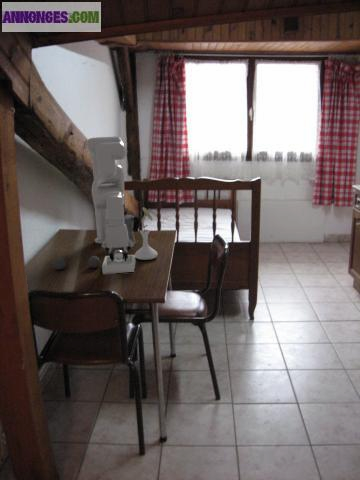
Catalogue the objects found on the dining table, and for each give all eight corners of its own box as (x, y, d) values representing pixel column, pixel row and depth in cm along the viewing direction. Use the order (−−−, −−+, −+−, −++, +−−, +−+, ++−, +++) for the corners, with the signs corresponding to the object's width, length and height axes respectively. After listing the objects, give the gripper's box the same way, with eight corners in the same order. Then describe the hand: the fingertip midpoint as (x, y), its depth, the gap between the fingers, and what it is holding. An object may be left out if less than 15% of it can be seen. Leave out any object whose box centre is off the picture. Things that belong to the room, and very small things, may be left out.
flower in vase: (157, 261, 228) (154, 210, 221) (133, 262, 228) (130, 211, 221) (158, 252, 240) (156, 204, 233) (136, 253, 240) (132, 205, 233)
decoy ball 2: (89, 265, 226) (88, 254, 224) (101, 265, 226) (100, 254, 224) (87, 269, 220) (86, 258, 219) (99, 269, 220) (98, 257, 219)
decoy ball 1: (55, 267, 225) (54, 256, 224) (67, 266, 225) (66, 255, 224) (53, 271, 220) (51, 260, 218) (65, 270, 220) (63, 259, 218)
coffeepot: (112, 245, 256) (109, 212, 251) (122, 240, 264) (119, 208, 259) (136, 248, 249) (134, 214, 244) (145, 243, 257) (143, 210, 252)
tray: (106, 264, 227) (105, 256, 226) (135, 262, 227) (134, 254, 226) (102, 274, 214) (102, 266, 212) (134, 272, 214) (133, 264, 213)
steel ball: (112, 263, 217) (111, 252, 215) (113, 259, 222) (112, 248, 220) (124, 263, 217) (123, 251, 215) (125, 259, 222) (124, 248, 221)
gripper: (95, 225, 210) (99, 263, 216) (134, 223, 211) (137, 262, 216) (98, 221, 217) (101, 258, 223) (135, 219, 218) (138, 256, 223)
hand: (119, 259), depth 219 cm, fingers closed on steel ball, 5 cm apart
